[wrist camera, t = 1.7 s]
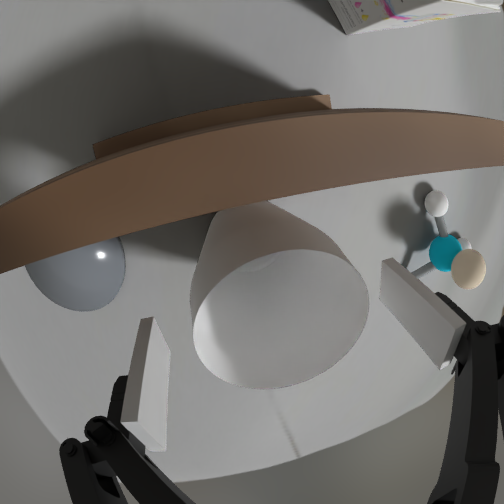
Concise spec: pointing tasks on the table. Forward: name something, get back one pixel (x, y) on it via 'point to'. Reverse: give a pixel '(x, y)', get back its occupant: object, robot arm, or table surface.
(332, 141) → the brown wooden slab
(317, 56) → the table surface
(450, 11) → the ink box
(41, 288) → the grey smooth rounded part
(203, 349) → the cup
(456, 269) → the molecule model
